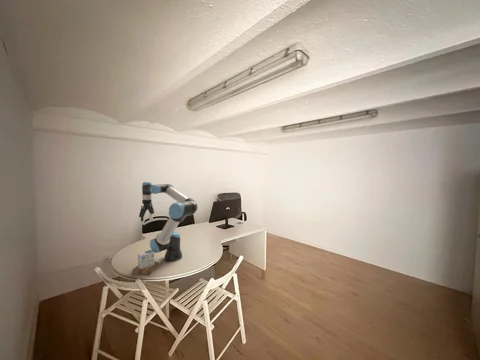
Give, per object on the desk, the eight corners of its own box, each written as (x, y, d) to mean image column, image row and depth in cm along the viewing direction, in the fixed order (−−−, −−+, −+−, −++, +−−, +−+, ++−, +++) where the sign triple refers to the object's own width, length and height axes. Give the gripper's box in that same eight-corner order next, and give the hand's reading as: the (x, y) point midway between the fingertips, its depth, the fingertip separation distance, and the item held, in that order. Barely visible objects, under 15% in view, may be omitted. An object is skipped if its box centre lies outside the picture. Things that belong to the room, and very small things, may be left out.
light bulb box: (150, 262, 163) (150, 249, 163) (154, 264, 159) (154, 251, 158) (137, 266, 155) (137, 253, 154) (141, 269, 150) (141, 255, 150)
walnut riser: (159, 265, 163) (159, 262, 163) (149, 274, 149) (149, 270, 149) (143, 264, 165) (143, 261, 164) (132, 273, 151) (132, 269, 150)
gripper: (150, 197, 190) (150, 219, 191) (134, 201, 165) (134, 226, 166) (158, 197, 189) (158, 219, 190) (142, 201, 164) (142, 226, 165)
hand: (147, 222), depth 178 cm, fingers open, 13 cm apart
